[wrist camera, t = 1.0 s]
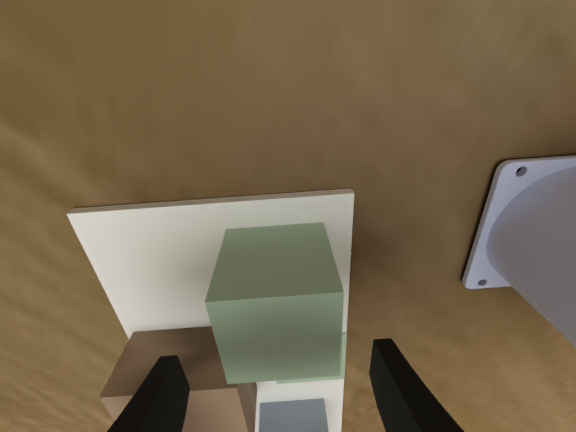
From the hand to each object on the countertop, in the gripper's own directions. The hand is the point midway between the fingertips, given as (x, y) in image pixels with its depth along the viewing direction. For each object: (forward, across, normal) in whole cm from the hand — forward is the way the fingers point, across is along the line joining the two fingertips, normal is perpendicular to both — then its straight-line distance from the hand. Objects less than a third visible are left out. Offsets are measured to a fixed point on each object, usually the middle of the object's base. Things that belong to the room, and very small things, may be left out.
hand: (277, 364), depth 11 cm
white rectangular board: (+6, +3, +8) cm, 11 cm away
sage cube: (+6, 0, 0) cm, 6 cm away
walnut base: (+6, +6, +8) cm, 12 cm away
